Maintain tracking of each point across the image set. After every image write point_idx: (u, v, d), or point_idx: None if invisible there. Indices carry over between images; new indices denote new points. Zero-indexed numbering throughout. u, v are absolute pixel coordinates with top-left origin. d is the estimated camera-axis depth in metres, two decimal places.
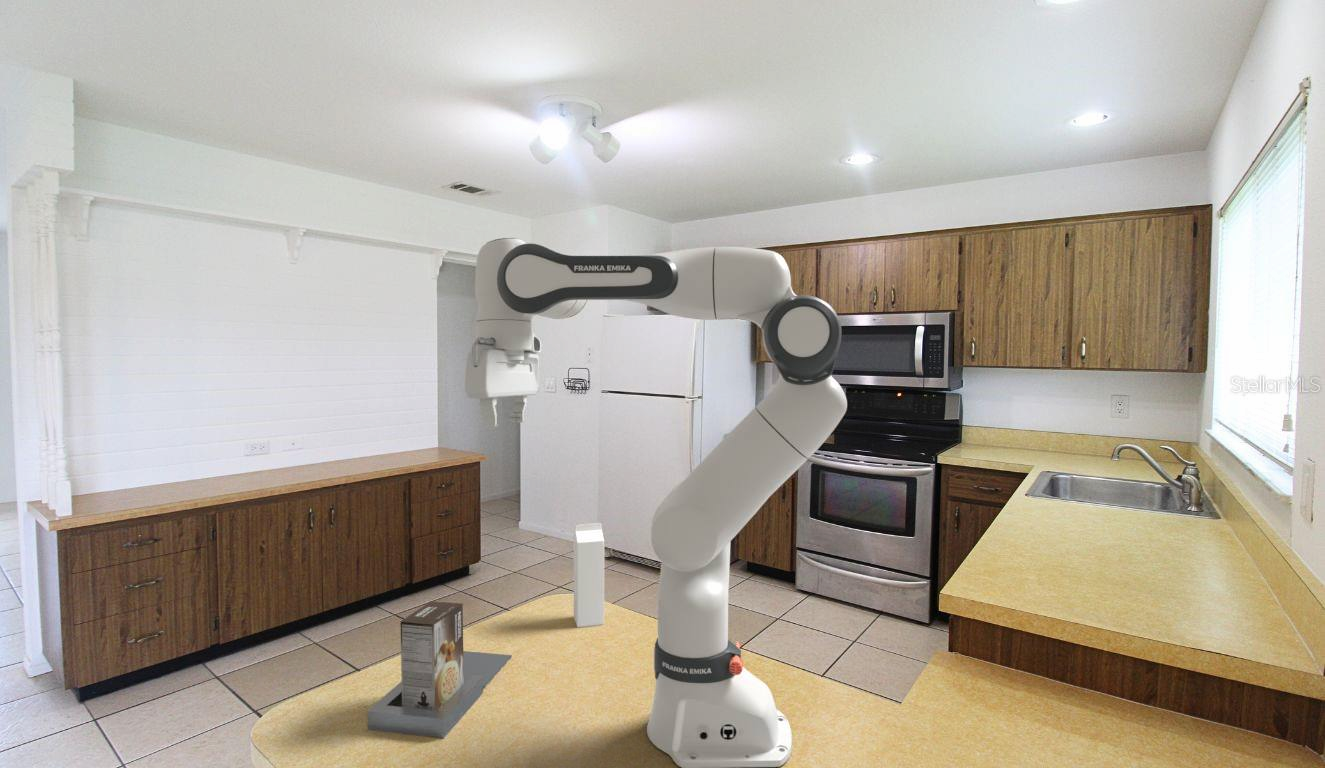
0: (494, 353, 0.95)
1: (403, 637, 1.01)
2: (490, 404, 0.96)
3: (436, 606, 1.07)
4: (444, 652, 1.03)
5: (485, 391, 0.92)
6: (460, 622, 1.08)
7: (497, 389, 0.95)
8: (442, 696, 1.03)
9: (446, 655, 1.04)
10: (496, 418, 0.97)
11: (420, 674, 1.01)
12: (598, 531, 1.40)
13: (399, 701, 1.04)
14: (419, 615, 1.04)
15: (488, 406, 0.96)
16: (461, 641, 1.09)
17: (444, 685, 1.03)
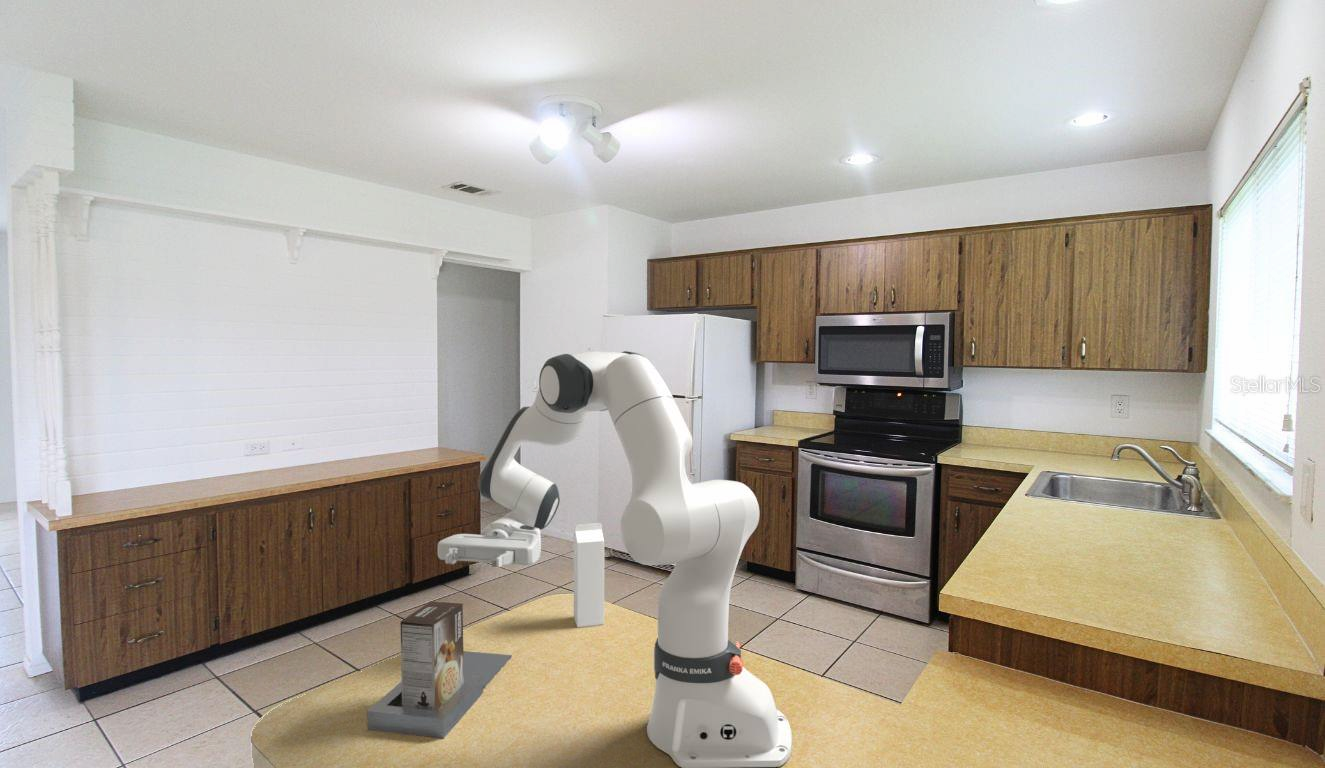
0: (465, 534, 1.31)
1: (403, 637, 1.01)
2: None
3: (436, 606, 1.07)
4: (444, 652, 1.03)
5: None
6: (460, 622, 1.08)
7: (455, 541, 1.26)
8: (442, 696, 1.03)
9: (446, 655, 1.04)
10: (451, 553, 1.21)
11: (420, 674, 1.01)
12: (598, 531, 1.40)
13: (399, 701, 1.04)
14: (419, 615, 1.04)
15: None
16: (461, 641, 1.09)
17: (444, 685, 1.03)
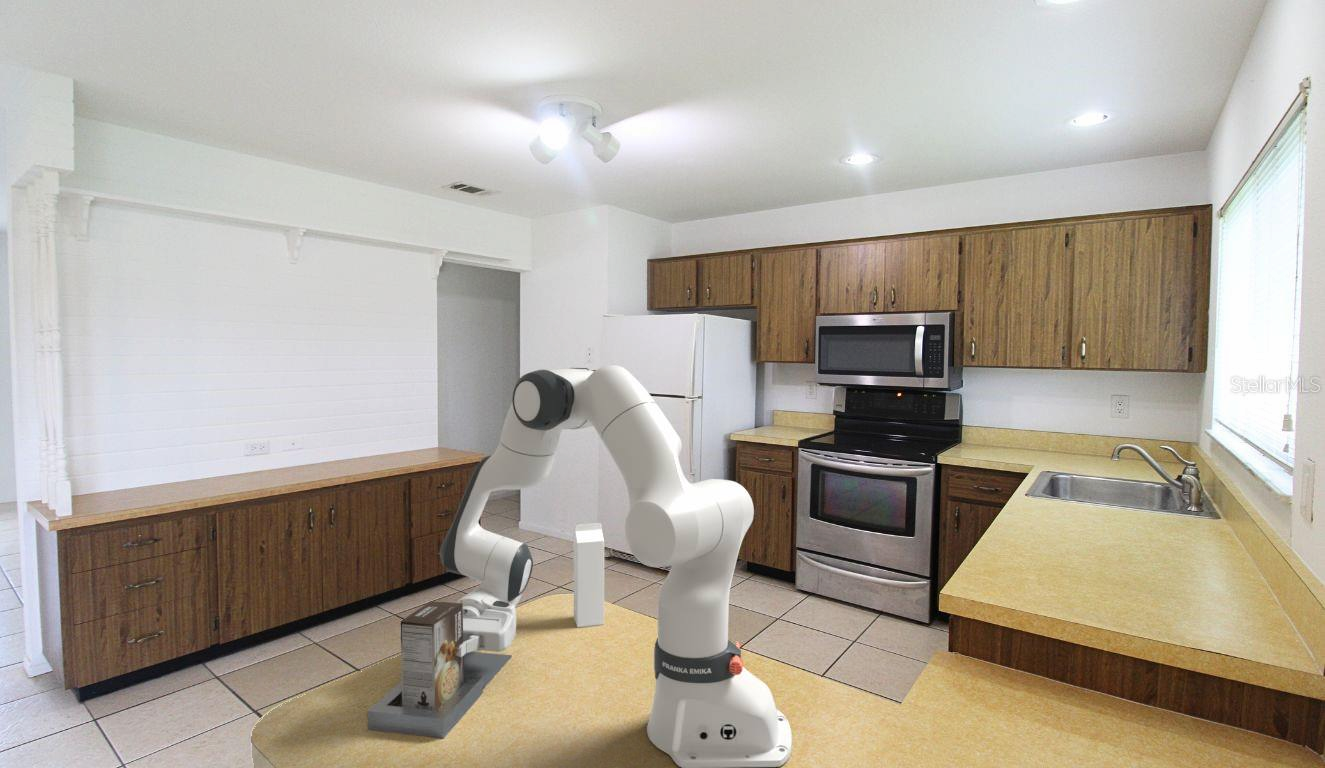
0: None
1: (403, 637, 1.01)
2: None
3: (436, 606, 1.07)
4: (444, 652, 1.03)
5: None
6: (460, 622, 1.08)
7: None
8: (442, 696, 1.03)
9: (446, 655, 1.04)
10: None
11: (420, 673, 1.01)
12: (598, 531, 1.40)
13: (399, 701, 1.04)
14: (419, 615, 1.04)
15: None
16: (461, 641, 1.09)
17: (444, 684, 1.03)
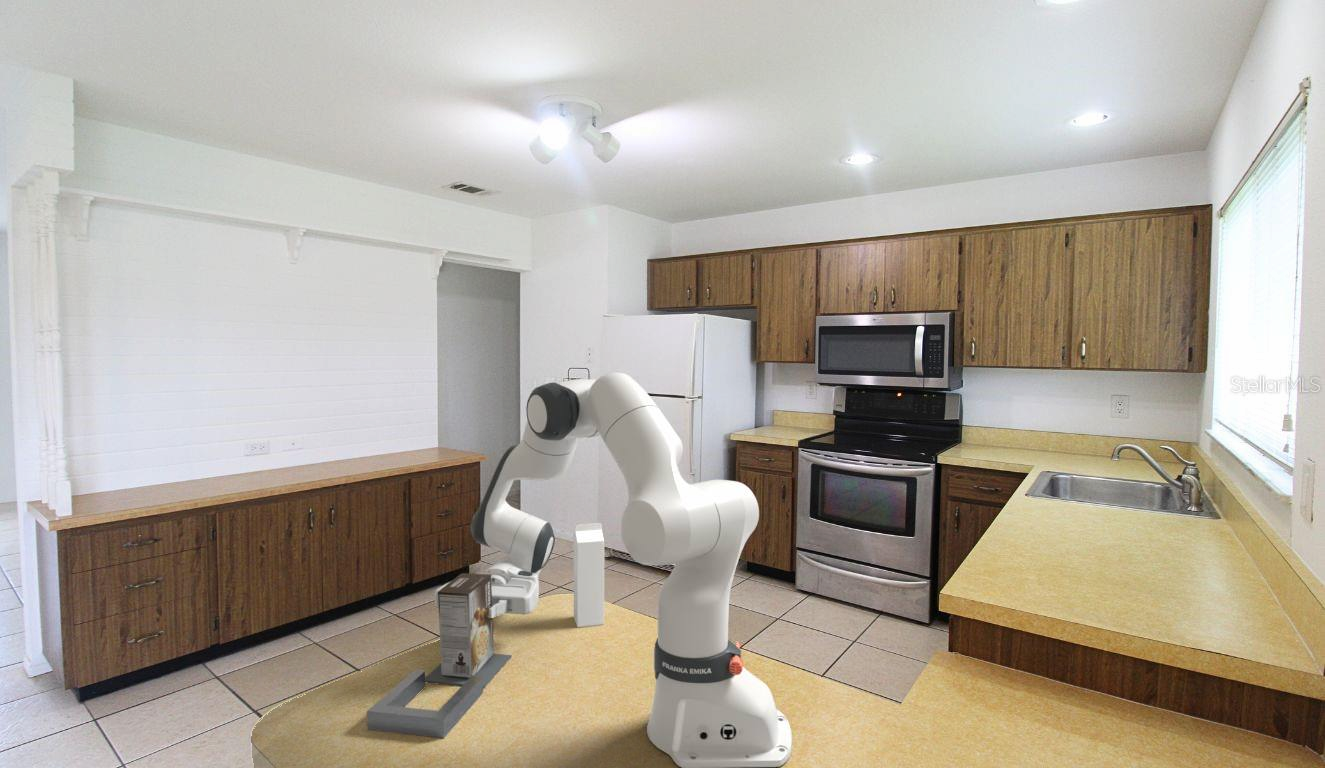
0: None
1: (441, 605, 1.13)
2: None
3: (467, 577, 1.19)
4: (478, 618, 1.15)
5: None
6: (489, 591, 1.20)
7: None
8: (477, 657, 1.15)
9: (479, 620, 1.15)
10: None
11: (457, 637, 1.13)
12: (598, 531, 1.40)
13: (399, 701, 1.04)
14: (454, 585, 1.15)
15: None
16: None
17: (478, 646, 1.15)
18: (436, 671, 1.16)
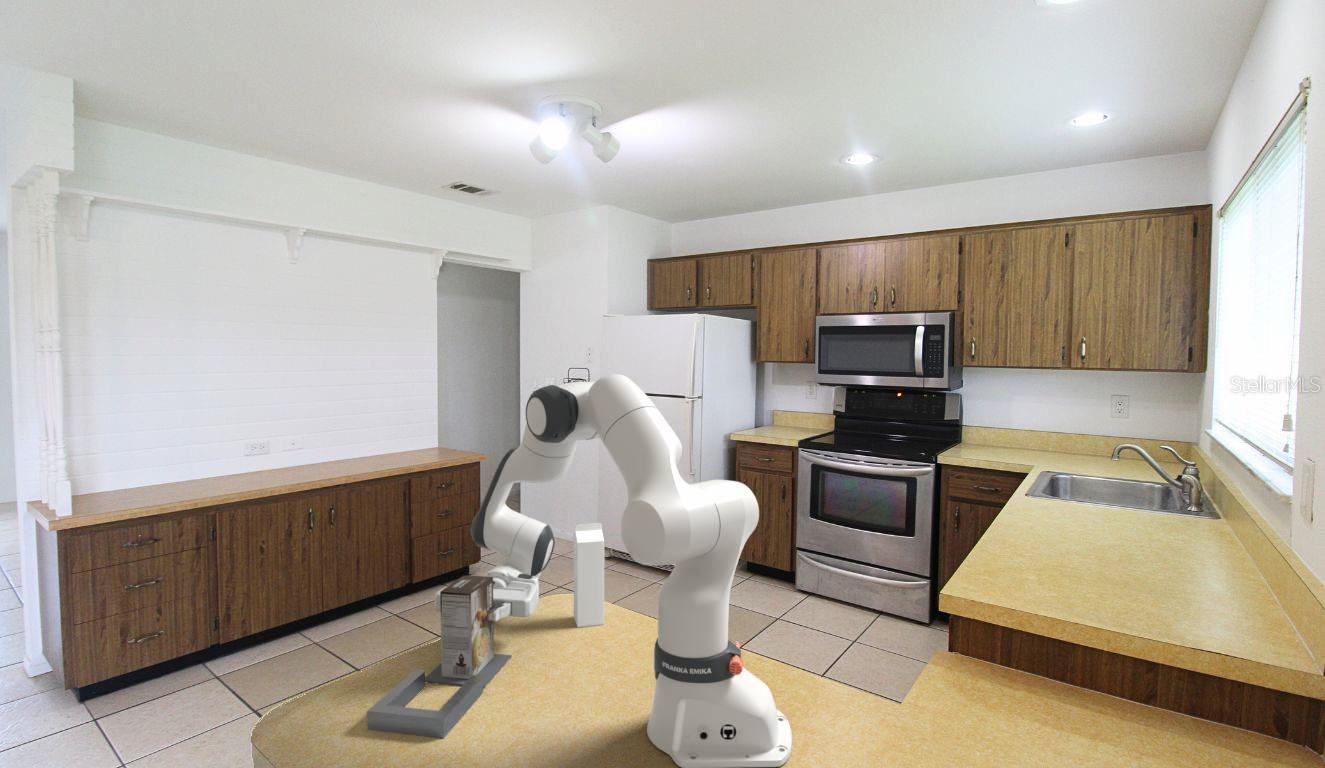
0: None
1: (443, 605, 1.14)
2: None
3: (469, 579, 1.20)
4: (479, 619, 1.16)
5: (435, 593, 1.25)
6: (491, 593, 1.21)
7: None
8: (477, 658, 1.15)
9: (480, 621, 1.16)
10: None
11: (458, 638, 1.13)
12: (598, 531, 1.40)
13: (399, 701, 1.04)
14: (456, 586, 1.16)
15: None
16: None
17: (478, 648, 1.16)
18: (436, 671, 1.16)
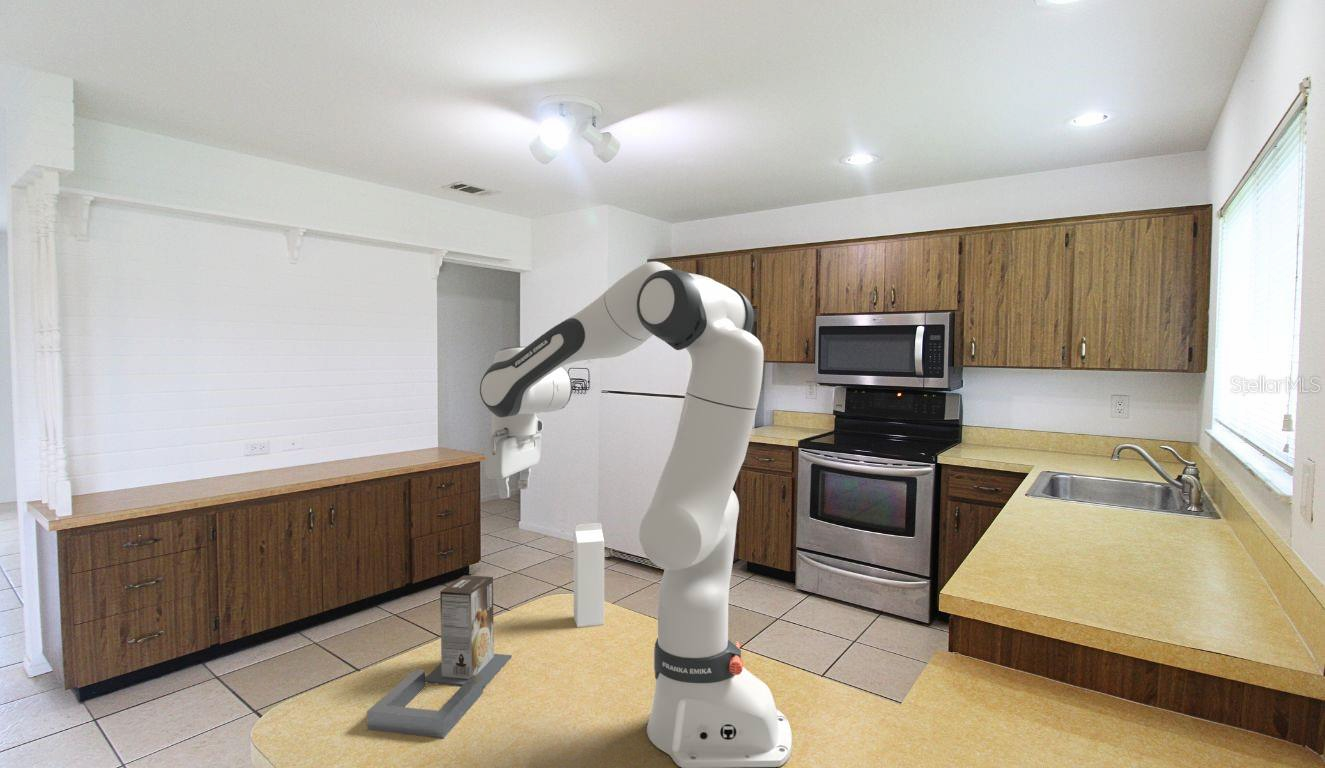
0: (508, 442, 1.21)
1: (443, 605, 1.14)
2: (504, 481, 1.22)
3: (469, 579, 1.20)
4: (479, 619, 1.16)
5: (501, 473, 1.19)
6: (491, 593, 1.21)
7: (509, 469, 1.22)
8: (477, 658, 1.15)
9: (480, 621, 1.16)
10: (508, 491, 1.24)
11: (458, 638, 1.13)
12: (598, 531, 1.40)
13: (399, 701, 1.04)
14: (456, 586, 1.16)
15: (502, 482, 1.22)
16: (492, 610, 1.21)
17: (478, 648, 1.16)
18: (436, 671, 1.16)
